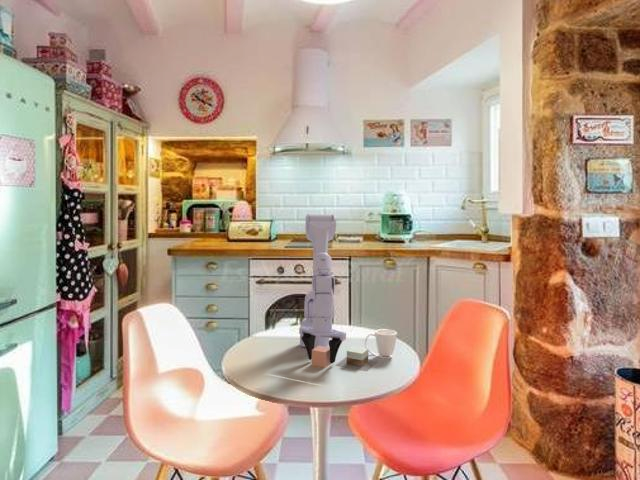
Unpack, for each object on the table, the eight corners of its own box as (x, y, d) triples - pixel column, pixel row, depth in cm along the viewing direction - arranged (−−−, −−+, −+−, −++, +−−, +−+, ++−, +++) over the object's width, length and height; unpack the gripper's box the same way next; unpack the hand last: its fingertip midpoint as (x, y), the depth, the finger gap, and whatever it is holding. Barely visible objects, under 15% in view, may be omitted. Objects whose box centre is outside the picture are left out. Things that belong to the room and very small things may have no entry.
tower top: (346, 357, 142) (346, 351, 141) (353, 352, 146) (353, 346, 146) (362, 360, 139) (362, 353, 139) (368, 355, 144) (368, 348, 144)
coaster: (335, 366, 141) (335, 365, 141) (348, 356, 150) (348, 355, 150) (367, 372, 136) (367, 371, 136) (378, 361, 145) (378, 360, 145)
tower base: (346, 364, 142) (346, 357, 142) (352, 359, 146) (353, 352, 146) (362, 366, 140) (362, 360, 139) (368, 361, 144) (368, 355, 144)
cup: (395, 361, 146) (396, 335, 145) (363, 358, 148) (363, 333, 147) (397, 354, 152) (398, 329, 152) (366, 351, 155) (367, 327, 154)
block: (311, 366, 141) (311, 349, 140) (318, 361, 145) (318, 345, 144) (325, 369, 139) (325, 352, 138) (331, 364, 143) (332, 348, 142)
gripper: (294, 315, 140) (293, 360, 141) (339, 321, 133) (338, 368, 135) (305, 310, 146) (305, 353, 147) (349, 316, 140) (348, 361, 141)
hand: (321, 360), depth 141 cm, fingers open, 6 cm apart
